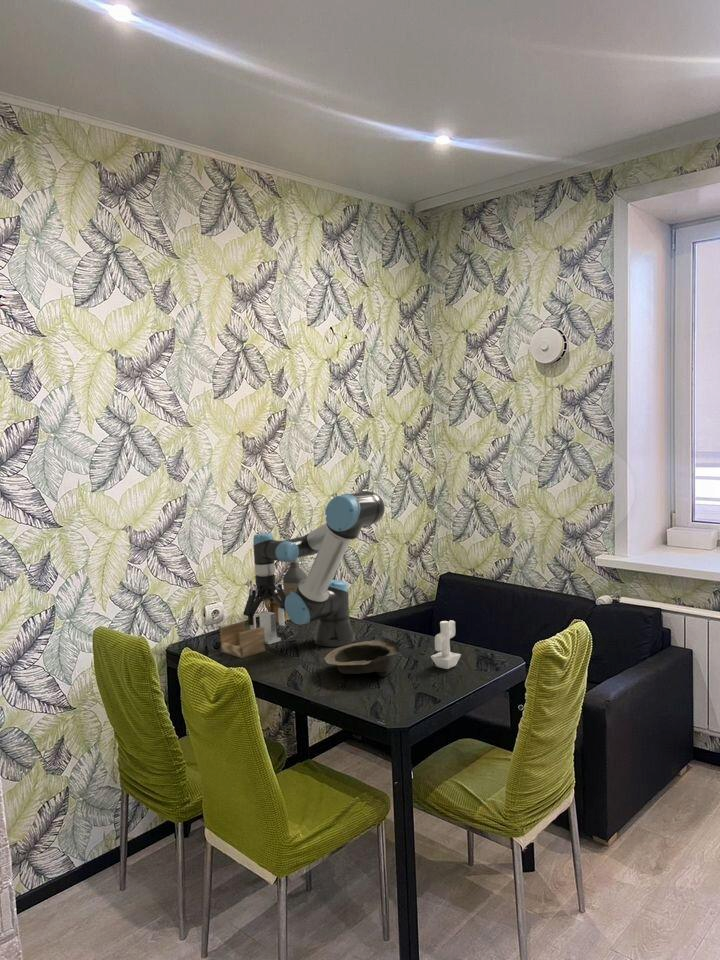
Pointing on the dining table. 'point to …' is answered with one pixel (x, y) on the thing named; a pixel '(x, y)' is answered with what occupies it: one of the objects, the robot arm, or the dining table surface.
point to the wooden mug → (274, 608)
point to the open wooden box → (242, 640)
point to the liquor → (293, 577)
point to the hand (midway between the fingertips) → (267, 629)
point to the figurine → (445, 646)
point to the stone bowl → (365, 657)
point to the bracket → (269, 626)
